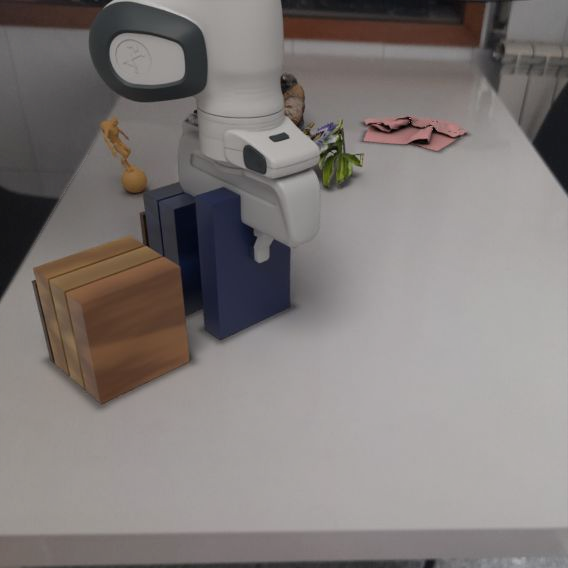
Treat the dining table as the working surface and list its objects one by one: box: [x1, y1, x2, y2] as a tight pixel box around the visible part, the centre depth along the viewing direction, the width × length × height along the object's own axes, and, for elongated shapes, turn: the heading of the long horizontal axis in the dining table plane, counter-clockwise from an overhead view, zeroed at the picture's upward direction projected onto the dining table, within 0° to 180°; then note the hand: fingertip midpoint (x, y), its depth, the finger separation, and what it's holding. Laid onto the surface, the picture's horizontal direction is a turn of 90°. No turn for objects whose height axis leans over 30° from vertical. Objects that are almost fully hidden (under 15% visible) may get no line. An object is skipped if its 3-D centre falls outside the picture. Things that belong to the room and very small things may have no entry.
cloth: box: [363, 115, 468, 152], centre depth 146 cm, size 20×22×2 cm
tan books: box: [31, 235, 190, 405], centre depth 76 cm, size 10×11×12 cm
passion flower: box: [302, 118, 365, 190], centre depth 124 cm, size 11×11×12 cm
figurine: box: [99, 116, 148, 194], centre depth 113 cm, size 8×6×12 cm
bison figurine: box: [280, 71, 306, 132], centre depth 141 cm, size 12×7×10 cm, turn 5°
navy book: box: [195, 187, 292, 341], centre depth 83 cm, size 3×11×17 cm, turn 136°
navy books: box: [138, 181, 203, 317], centre depth 89 cm, size 7×11×14 cm
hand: (246, 252), depth 82 cm, fingers closed on navy book, 3 cm apart
